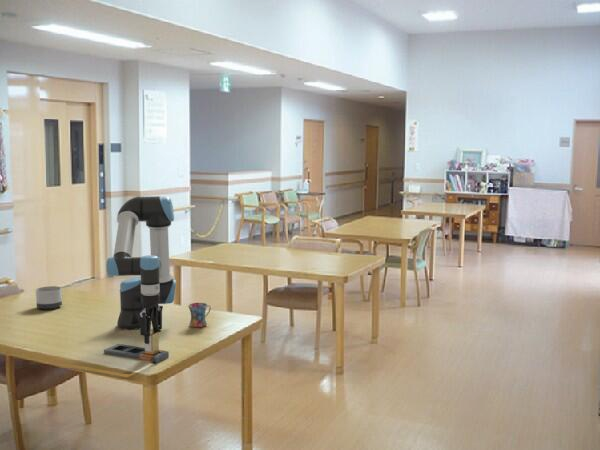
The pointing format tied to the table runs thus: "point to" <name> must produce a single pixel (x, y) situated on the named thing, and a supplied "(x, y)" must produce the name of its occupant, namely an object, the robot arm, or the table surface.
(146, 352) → the tan rectangular block
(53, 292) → the planter
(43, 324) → the table surface
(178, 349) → the table surface
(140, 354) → the rail
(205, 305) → the mug
